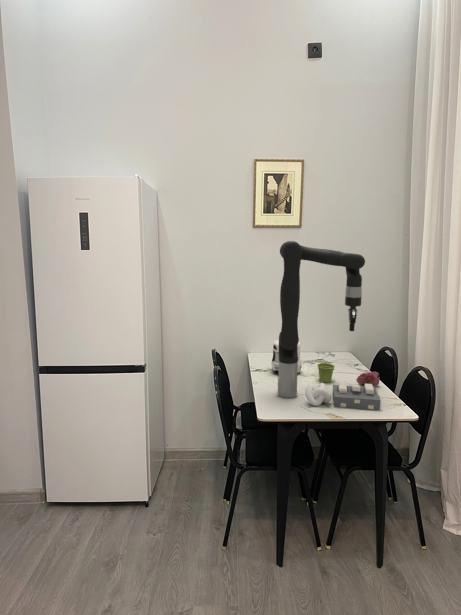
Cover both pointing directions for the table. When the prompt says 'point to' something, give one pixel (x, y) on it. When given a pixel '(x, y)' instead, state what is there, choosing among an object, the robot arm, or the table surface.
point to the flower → (368, 378)
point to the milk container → (276, 357)
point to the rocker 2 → (355, 387)
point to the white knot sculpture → (317, 394)
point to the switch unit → (356, 399)
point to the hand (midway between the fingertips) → (351, 330)
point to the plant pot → (325, 372)
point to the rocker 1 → (342, 387)
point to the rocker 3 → (369, 389)
